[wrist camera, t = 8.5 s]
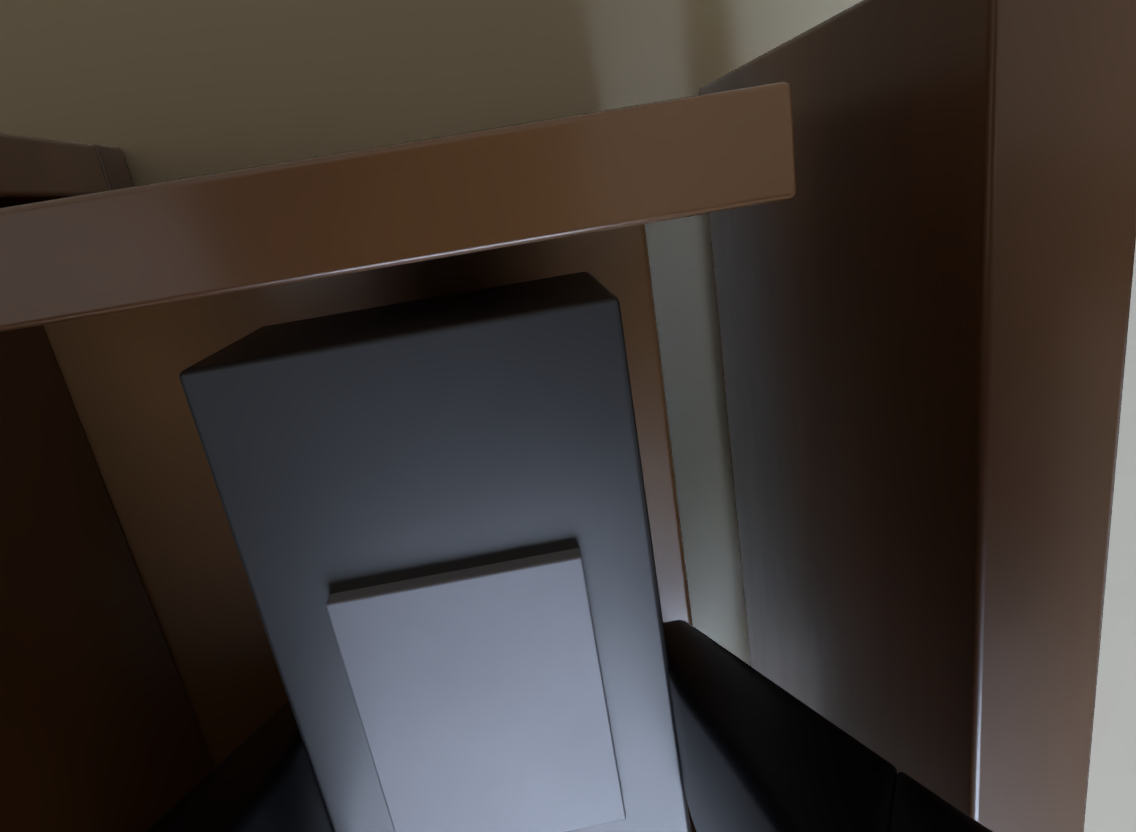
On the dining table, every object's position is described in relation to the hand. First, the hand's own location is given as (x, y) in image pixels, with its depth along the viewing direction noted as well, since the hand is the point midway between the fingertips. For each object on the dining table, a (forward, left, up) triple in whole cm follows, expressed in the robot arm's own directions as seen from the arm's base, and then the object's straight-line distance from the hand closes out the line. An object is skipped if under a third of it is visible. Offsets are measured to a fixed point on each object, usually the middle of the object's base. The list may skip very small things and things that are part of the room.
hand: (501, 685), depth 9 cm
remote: (0, 0, -1) cm, 1 cm away
